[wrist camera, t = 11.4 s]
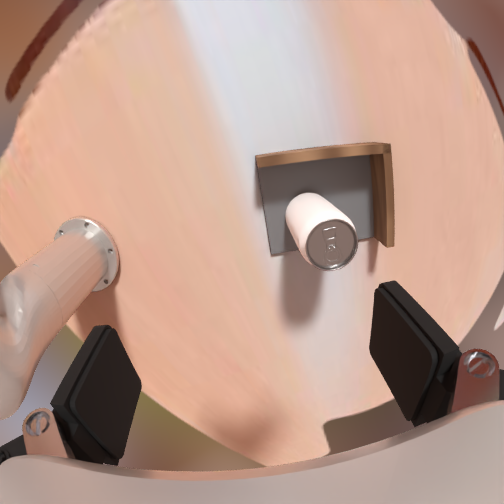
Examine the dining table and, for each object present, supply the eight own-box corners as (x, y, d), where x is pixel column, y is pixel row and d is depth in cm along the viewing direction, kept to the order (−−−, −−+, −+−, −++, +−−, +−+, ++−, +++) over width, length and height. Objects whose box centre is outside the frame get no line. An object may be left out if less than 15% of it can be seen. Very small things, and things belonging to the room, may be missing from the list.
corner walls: (271, 252, 42) (274, 267, 37) (255, 155, 37) (257, 157, 32) (379, 234, 41) (394, 246, 37) (374, 142, 36) (390, 143, 31)
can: (289, 241, 41) (306, 281, 30) (280, 197, 38) (295, 222, 27) (333, 231, 40) (364, 266, 29) (326, 187, 38) (358, 208, 27)
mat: (271, 252, 42) (271, 254, 41) (255, 155, 37) (255, 155, 36) (379, 234, 41) (380, 235, 41) (374, 142, 36) (375, 142, 36)
